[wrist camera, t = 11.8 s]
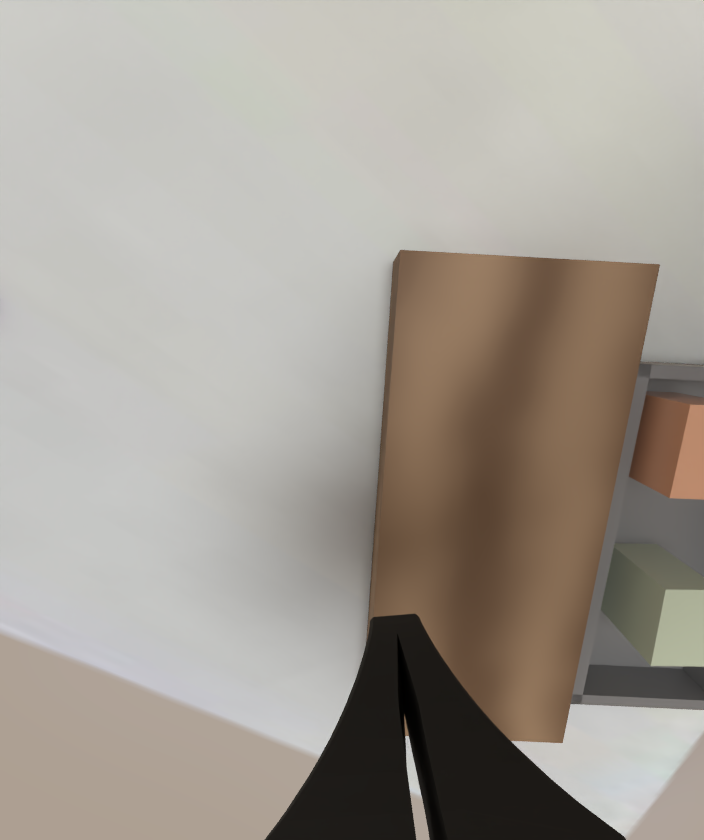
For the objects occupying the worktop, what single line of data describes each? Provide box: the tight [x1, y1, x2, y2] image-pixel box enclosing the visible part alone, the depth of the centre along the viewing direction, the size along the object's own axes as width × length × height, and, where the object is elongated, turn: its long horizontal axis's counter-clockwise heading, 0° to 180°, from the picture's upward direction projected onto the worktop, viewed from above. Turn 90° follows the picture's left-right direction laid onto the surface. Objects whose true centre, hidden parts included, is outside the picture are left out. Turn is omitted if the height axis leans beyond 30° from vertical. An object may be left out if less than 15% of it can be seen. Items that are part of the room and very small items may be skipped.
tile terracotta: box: [629, 391, 704, 500], centre depth 19 cm, size 4×4×2 cm
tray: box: [571, 362, 704, 710], centre depth 21 cm, size 8×18×2 cm, turn 177°
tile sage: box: [601, 543, 704, 667], centre depth 20 cm, size 4×4×2 cm
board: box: [366, 250, 660, 743], centre depth 20 cm, size 10×24×3 cm, turn 177°
